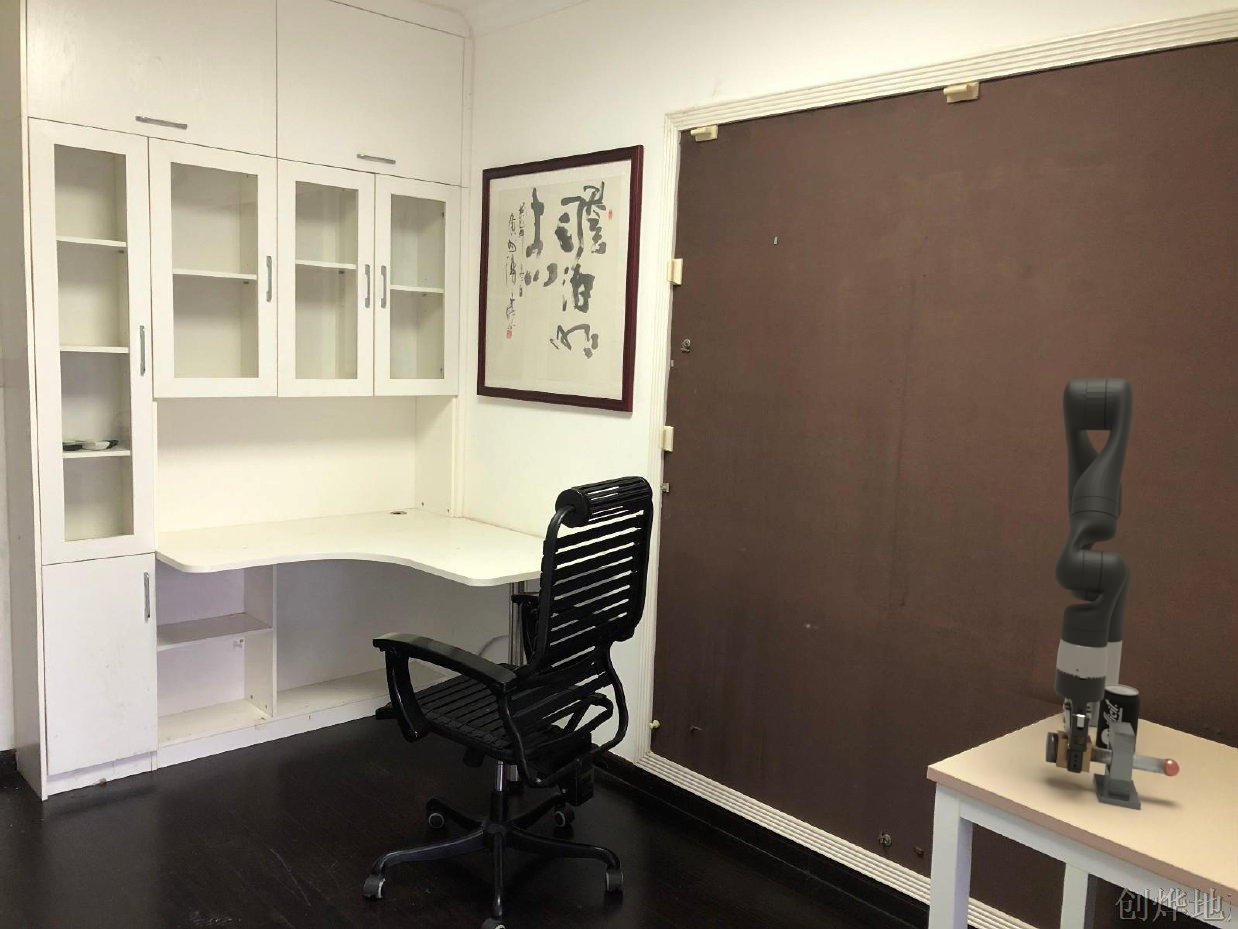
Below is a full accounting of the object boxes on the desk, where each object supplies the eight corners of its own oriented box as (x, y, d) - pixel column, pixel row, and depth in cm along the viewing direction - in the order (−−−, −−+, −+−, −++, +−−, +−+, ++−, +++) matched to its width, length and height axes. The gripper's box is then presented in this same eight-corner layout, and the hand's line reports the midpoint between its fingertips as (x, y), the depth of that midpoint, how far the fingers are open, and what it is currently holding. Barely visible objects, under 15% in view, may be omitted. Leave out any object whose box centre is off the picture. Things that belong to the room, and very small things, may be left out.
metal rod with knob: (1046, 766, 162) (1049, 737, 161) (1045, 755, 166) (1047, 727, 166) (1180, 790, 155) (1183, 759, 154) (1175, 778, 159) (1178, 749, 159)
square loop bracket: (1093, 778, 166) (1099, 715, 165) (1132, 785, 164) (1138, 722, 163) (1098, 802, 157) (1105, 735, 156) (1140, 810, 155) (1147, 742, 153)
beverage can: (1139, 760, 175) (1146, 696, 174) (1100, 756, 177) (1107, 692, 175) (1128, 747, 182) (1134, 685, 180) (1090, 742, 183) (1096, 681, 182)
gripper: (1054, 653, 169) (1045, 743, 170) (1059, 676, 155) (1049, 774, 157) (1101, 660, 166) (1092, 751, 168) (1111, 684, 153) (1101, 783, 154)
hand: (1071, 762), depth 162 cm, fingers open, 8 cm apart
